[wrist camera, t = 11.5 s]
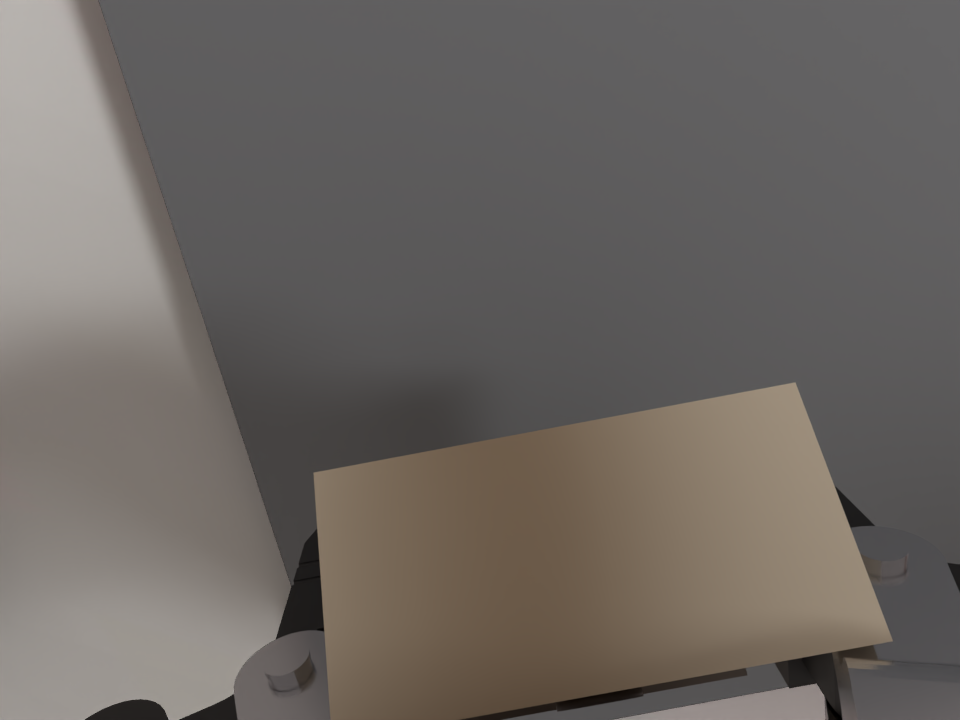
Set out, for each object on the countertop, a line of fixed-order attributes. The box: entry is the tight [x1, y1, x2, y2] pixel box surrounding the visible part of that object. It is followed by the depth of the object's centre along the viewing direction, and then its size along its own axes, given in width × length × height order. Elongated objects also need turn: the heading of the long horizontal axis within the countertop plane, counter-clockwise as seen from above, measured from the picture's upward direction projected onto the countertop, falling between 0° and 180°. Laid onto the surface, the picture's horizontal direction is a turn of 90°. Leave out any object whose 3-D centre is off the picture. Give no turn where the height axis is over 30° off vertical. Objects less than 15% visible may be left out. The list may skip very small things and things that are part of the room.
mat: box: [99, 0, 960, 720], centre depth 15 cm, size 19×24×1 cm
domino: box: [313, 383, 893, 720], centre depth 11 cm, size 5×3×9 cm
